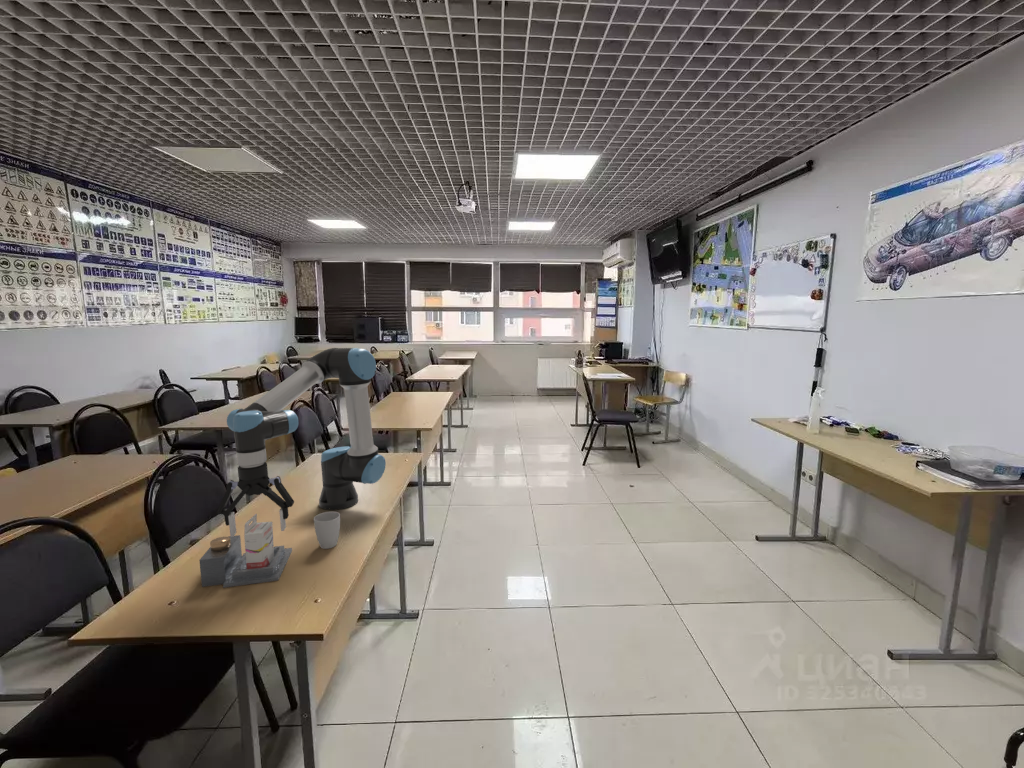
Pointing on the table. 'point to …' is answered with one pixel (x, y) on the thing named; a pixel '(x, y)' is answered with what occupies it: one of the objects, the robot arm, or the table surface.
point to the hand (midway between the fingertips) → (258, 531)
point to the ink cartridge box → (258, 543)
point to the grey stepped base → (237, 564)
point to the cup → (327, 529)
